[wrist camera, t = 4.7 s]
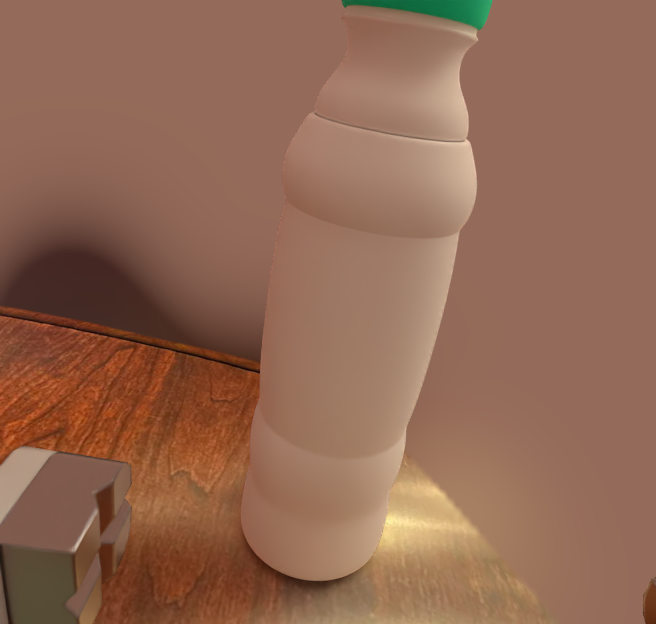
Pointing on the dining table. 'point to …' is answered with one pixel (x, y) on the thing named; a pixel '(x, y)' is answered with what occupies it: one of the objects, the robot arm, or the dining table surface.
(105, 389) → the dining table surface
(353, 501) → the water bottle
